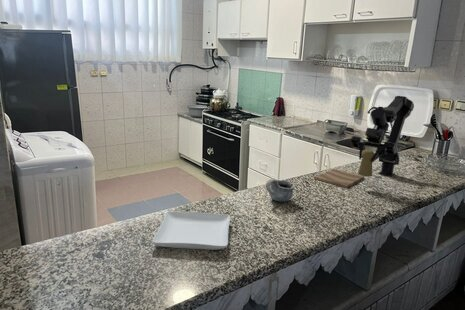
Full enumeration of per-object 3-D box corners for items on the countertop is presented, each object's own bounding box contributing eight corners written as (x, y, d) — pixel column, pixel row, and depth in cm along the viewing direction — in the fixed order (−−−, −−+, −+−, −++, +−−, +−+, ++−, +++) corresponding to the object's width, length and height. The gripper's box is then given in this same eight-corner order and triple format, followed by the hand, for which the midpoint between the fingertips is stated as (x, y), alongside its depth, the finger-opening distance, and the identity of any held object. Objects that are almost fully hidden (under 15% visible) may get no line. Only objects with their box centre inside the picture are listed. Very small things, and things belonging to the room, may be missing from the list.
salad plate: (167, 219, 115) (167, 209, 114) (230, 222, 115) (230, 213, 114) (150, 252, 95) (150, 241, 94) (227, 257, 94) (228, 246, 94)
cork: (372, 173, 153) (376, 149, 150) (371, 177, 148) (375, 152, 145) (358, 171, 155) (361, 147, 153) (357, 175, 150) (360, 150, 147)
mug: (297, 201, 135) (299, 177, 133) (278, 209, 126) (281, 184, 124) (277, 194, 142) (279, 171, 139) (258, 201, 133) (260, 177, 130)
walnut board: (333, 170, 177) (333, 168, 177) (364, 178, 167) (364, 176, 167) (314, 179, 163) (314, 176, 162) (346, 188, 152) (347, 185, 152)
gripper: (355, 118, 154) (341, 145, 149) (398, 124, 142) (385, 154, 137) (359, 133, 162) (346, 159, 157) (401, 140, 150) (388, 169, 145)
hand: (365, 160), depth 149 cm, fingers closed on cork, 5 cm apart
